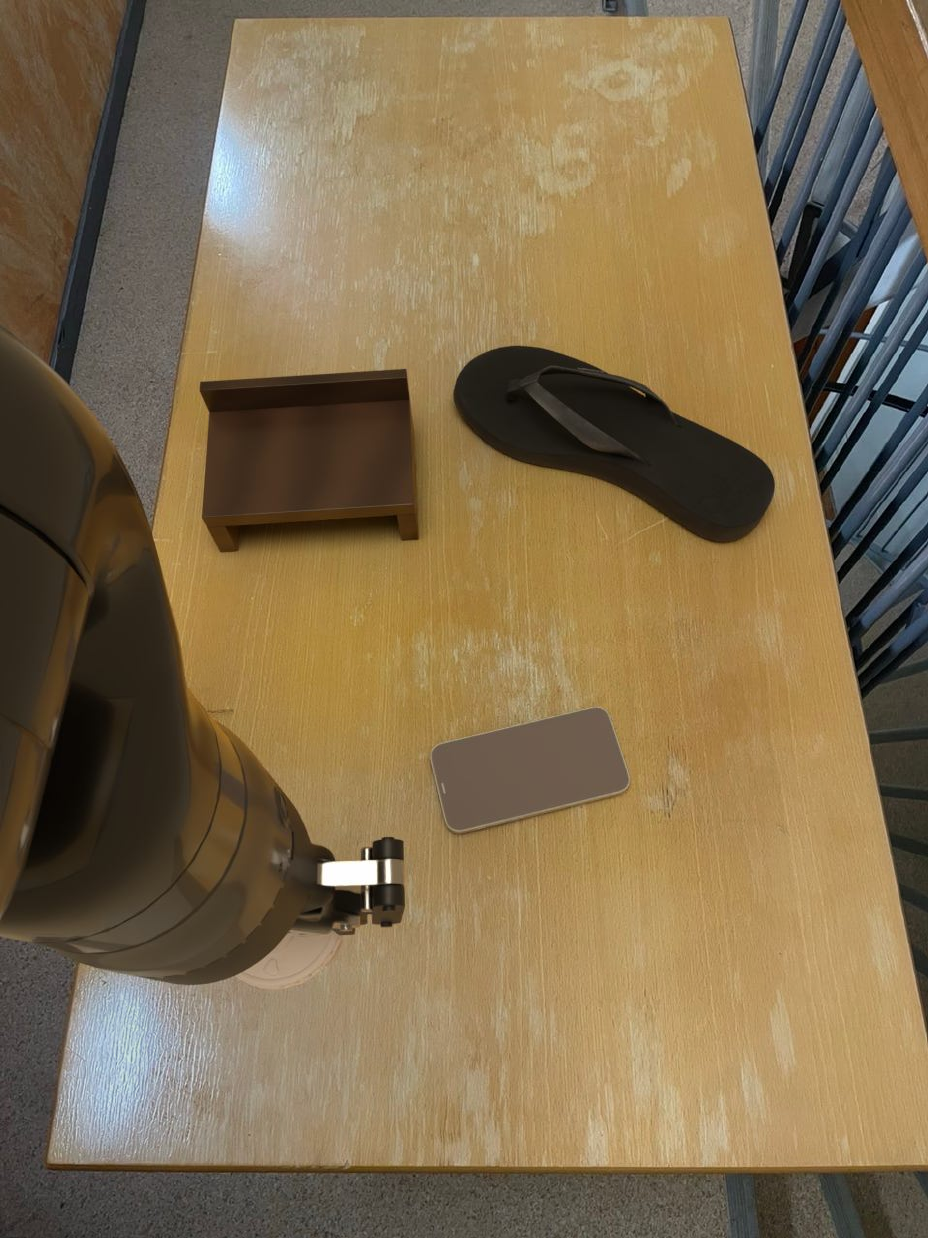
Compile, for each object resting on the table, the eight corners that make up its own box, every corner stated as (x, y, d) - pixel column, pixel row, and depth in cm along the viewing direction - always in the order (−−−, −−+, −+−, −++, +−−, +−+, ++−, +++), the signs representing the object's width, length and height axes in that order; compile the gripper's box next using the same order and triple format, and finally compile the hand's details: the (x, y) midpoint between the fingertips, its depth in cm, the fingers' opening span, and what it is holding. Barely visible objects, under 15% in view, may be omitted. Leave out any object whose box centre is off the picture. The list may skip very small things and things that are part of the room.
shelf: (220, 552, 83) (190, 498, 75) (226, 442, 88) (199, 381, 80) (418, 539, 83) (411, 484, 75) (413, 431, 88) (406, 368, 80)
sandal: (747, 556, 82) (768, 517, 76) (432, 439, 88) (428, 394, 82) (788, 448, 86) (811, 404, 80) (487, 344, 92) (487, 295, 86)
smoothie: (232, 929, 53) (152, 893, 40) (322, 857, 54) (274, 799, 41) (296, 1024, 50) (234, 1017, 38) (388, 945, 52) (359, 914, 39)
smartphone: (634, 789, 72) (448, 835, 71) (632, 792, 73) (448, 838, 72) (605, 703, 75) (427, 745, 74) (604, 706, 76) (427, 748, 75)
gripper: (-91, 990, 27) (116, 1010, 42) (402, 963, 27) (430, 992, 42) (-44, 742, 30) (132, 844, 45) (397, 719, 30) (425, 828, 45)
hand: (276, 915), depth 44 cm, fingers closed on smoothie, 6 cm apart
